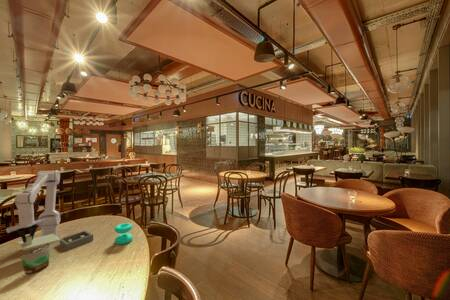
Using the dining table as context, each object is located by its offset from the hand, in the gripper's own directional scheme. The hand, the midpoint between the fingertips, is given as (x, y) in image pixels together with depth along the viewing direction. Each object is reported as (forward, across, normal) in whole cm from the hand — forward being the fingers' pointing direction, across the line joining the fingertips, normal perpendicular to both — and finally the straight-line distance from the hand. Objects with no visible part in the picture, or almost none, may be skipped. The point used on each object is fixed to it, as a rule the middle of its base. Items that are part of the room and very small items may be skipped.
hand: (27, 240), depth 108 cm
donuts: (+11, +39, -23) cm, 46 cm away
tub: (+10, +22, 0) cm, 24 cm away
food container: (+11, +1, -15) cm, 18 cm away
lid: (+3, +5, 0) cm, 6 cm away
